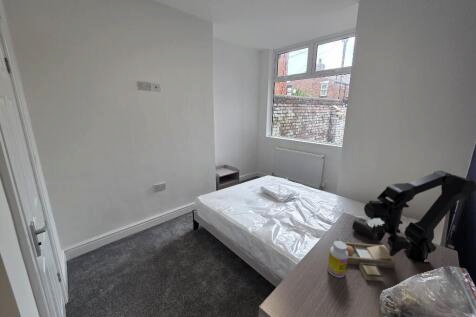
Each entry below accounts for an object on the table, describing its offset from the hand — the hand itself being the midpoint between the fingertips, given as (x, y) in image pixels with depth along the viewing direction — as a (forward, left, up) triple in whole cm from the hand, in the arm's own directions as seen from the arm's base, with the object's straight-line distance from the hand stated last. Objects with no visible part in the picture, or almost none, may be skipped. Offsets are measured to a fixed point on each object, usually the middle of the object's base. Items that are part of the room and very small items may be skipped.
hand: (384, 248), depth 85 cm
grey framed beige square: (+9, +9, -6) cm, 14 cm away
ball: (+14, 0, -3) cm, 14 cm away
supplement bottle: (+22, +10, -6) cm, 25 cm away
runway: (+7, 0, -6) cm, 9 cm away
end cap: (0, -17, -6) cm, 18 cm away
